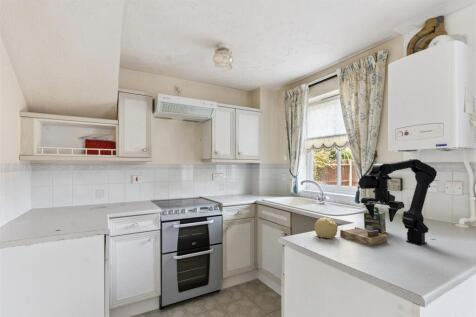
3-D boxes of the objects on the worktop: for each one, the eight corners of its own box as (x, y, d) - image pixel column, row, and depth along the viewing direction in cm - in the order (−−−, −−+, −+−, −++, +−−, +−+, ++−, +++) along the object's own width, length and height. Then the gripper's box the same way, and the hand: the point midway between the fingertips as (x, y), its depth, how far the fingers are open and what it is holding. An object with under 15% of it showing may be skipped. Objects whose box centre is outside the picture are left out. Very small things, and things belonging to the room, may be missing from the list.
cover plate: (382, 237, 122) (382, 230, 122) (369, 240, 117) (369, 233, 117) (356, 230, 135) (356, 223, 135) (344, 232, 131) (344, 226, 131)
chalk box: (386, 231, 140) (385, 206, 140) (381, 235, 133) (380, 208, 134) (369, 228, 146) (368, 204, 147) (363, 231, 140) (363, 206, 140)
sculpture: (340, 240, 124) (339, 220, 124) (316, 239, 126) (315, 219, 127) (335, 234, 135) (335, 215, 135) (313, 233, 138) (313, 214, 138)
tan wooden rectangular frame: (387, 242, 121) (387, 235, 121) (370, 246, 115) (370, 239, 115) (356, 233, 137) (356, 227, 137) (340, 236, 131) (340, 229, 131)
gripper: (410, 189, 114) (411, 222, 113) (373, 186, 130) (373, 214, 130) (397, 190, 109) (397, 224, 108) (360, 187, 125) (360, 216, 125)
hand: (381, 219), depth 118 cm, fingers open, 9 cm apart
